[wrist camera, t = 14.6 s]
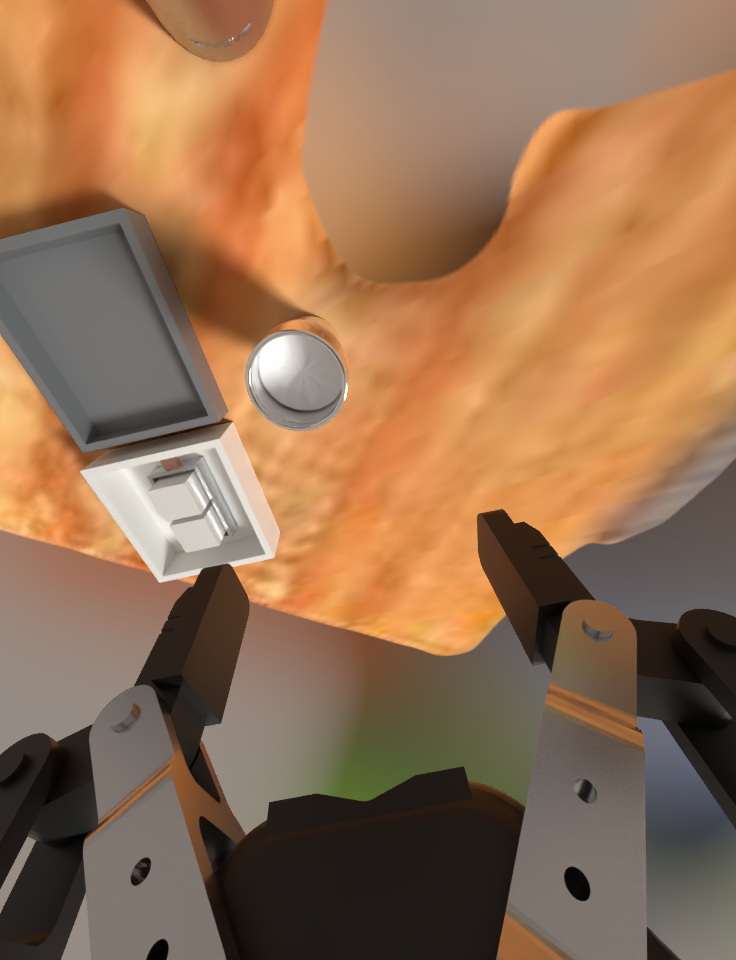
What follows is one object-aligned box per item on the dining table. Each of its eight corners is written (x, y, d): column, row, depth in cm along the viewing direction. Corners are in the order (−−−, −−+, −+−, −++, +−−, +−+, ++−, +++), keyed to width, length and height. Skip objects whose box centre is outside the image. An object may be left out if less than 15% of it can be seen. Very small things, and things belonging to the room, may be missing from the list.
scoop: (147, 450, 39) (136, 460, 36) (195, 439, 38) (187, 448, 36) (196, 534, 45) (189, 547, 42) (238, 525, 44) (233, 537, 42)
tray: (-18, 256, 30) (-56, 253, 27) (144, 215, 29) (123, 207, 26) (102, 440, 38) (83, 453, 36) (228, 411, 38) (219, 421, 35)
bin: (108, 450, 39) (79, 470, 35) (232, 421, 38) (219, 438, 34) (176, 555, 47) (159, 582, 42) (280, 532, 46) (274, 557, 42)
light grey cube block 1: (164, 473, 39) (147, 491, 36) (198, 465, 39) (184, 482, 36) (181, 501, 41) (166, 521, 38) (213, 494, 41) (201, 513, 38)
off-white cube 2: (183, 505, 42) (169, 525, 38) (215, 498, 41) (204, 518, 38) (198, 531, 44) (186, 552, 40) (228, 524, 43) (219, 545, 40)
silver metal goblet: (284, 300, 33) (250, 309, 20) (353, 324, 35) (364, 346, 22) (271, 371, 36) (234, 419, 23) (335, 390, 38) (335, 445, 25)
